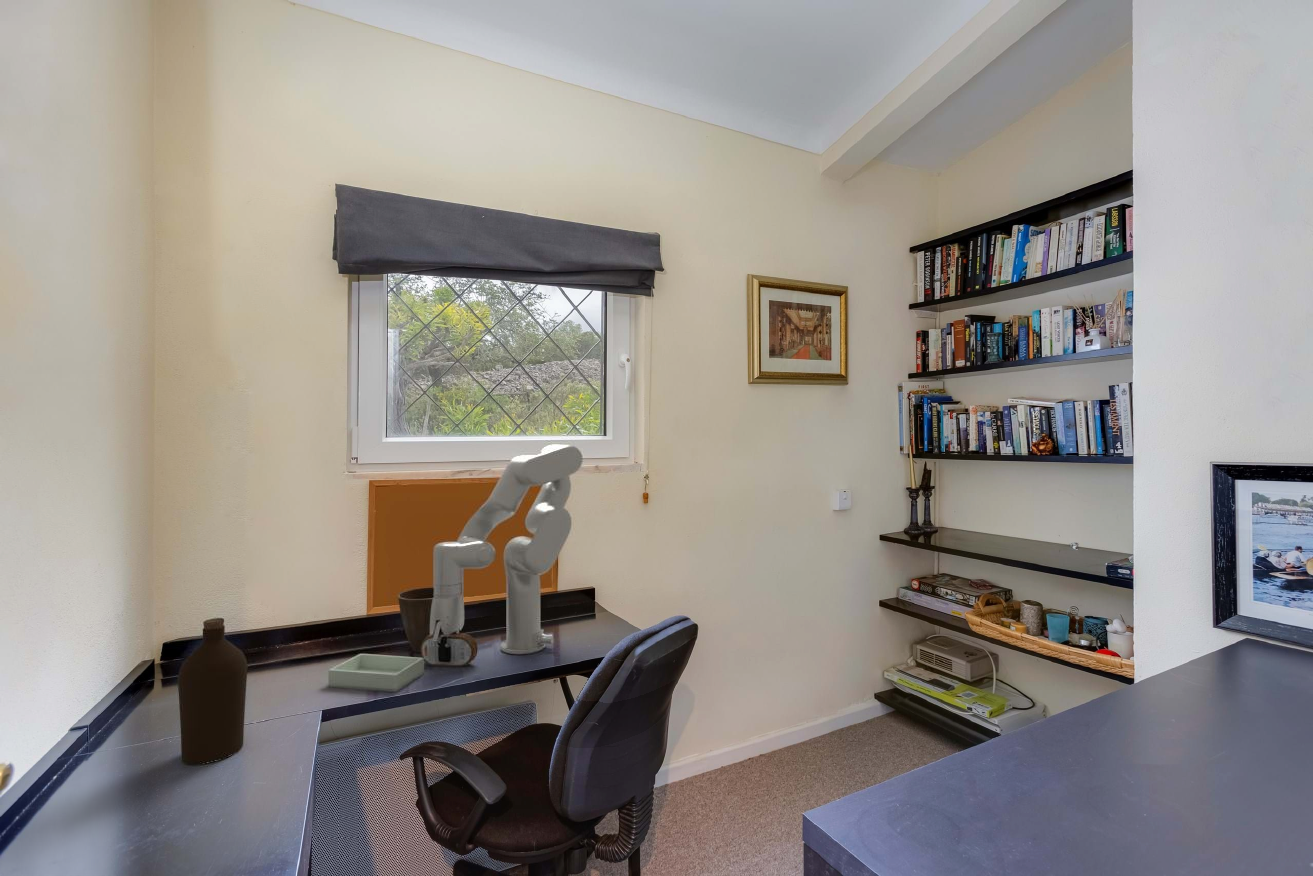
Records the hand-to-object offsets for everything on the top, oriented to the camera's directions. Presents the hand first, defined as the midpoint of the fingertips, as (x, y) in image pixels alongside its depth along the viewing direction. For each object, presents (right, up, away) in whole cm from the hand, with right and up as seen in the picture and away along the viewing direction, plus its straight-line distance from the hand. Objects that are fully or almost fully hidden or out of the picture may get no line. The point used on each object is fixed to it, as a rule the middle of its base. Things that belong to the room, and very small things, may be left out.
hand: (448, 658), depth 158 cm
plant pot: (-11, -2, +13) cm, 17 cm away
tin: (0, -2, 0) cm, 2 cm away
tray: (-14, -2, -10) cm, 17 cm away
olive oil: (-29, -2, -45) cm, 53 cm away
